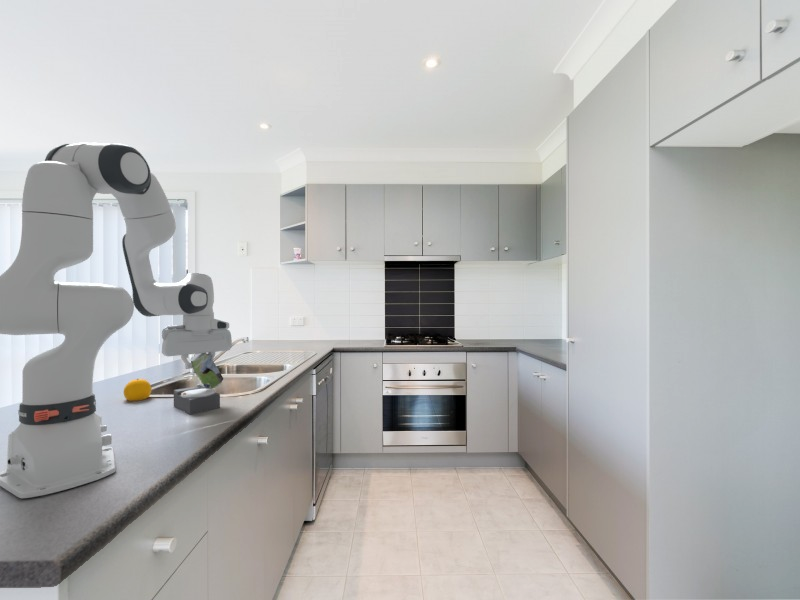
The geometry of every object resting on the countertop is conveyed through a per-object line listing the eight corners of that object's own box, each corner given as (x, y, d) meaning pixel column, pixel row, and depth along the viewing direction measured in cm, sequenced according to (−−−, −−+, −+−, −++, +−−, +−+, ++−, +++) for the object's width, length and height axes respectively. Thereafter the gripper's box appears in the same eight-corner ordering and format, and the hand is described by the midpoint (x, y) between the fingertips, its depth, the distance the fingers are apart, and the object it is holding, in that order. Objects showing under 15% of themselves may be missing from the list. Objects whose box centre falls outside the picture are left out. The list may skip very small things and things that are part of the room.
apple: (121, 404, 124) (122, 382, 124) (125, 399, 131) (125, 378, 131) (150, 401, 128) (150, 379, 129) (152, 396, 135) (152, 375, 135)
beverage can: (228, 381, 124) (216, 349, 121) (208, 393, 118) (195, 359, 115) (217, 380, 128) (205, 348, 125) (197, 391, 122) (184, 358, 119)
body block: (220, 407, 120) (220, 388, 120) (188, 414, 112) (188, 393, 112) (203, 401, 128) (203, 382, 128) (172, 407, 121) (172, 387, 121)
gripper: (165, 326, 110) (165, 373, 109) (234, 323, 125) (234, 364, 125) (158, 325, 114) (158, 370, 113) (225, 322, 129) (225, 362, 129)
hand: (198, 367), depth 119 cm, fingers closed on beverage can, 4 cm apart
